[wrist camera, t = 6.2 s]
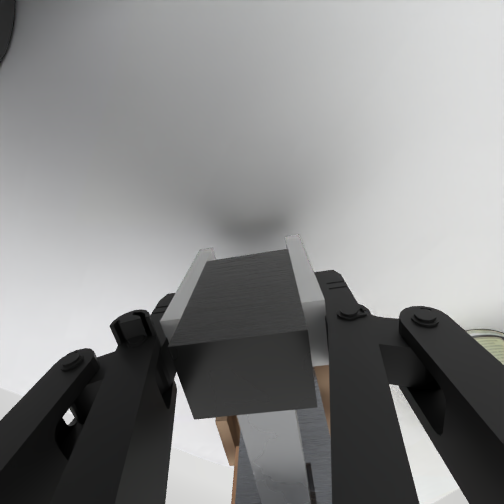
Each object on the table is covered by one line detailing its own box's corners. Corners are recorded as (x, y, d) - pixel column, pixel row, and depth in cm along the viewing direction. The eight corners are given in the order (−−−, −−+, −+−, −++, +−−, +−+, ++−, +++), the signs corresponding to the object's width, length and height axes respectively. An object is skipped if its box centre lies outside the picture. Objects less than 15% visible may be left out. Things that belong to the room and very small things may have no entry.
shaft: (206, 261, 13) (167, 346, 8) (288, 248, 13) (307, 329, 7) (268, 496, 21) (270, 628, 15) (322, 492, 20) (345, 626, 15)
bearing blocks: (244, 368, 24) (227, 607, 12) (312, 361, 24) (368, 604, 11) (266, 455, 29) (269, 696, 16) (323, 450, 28) (373, 697, 16)
